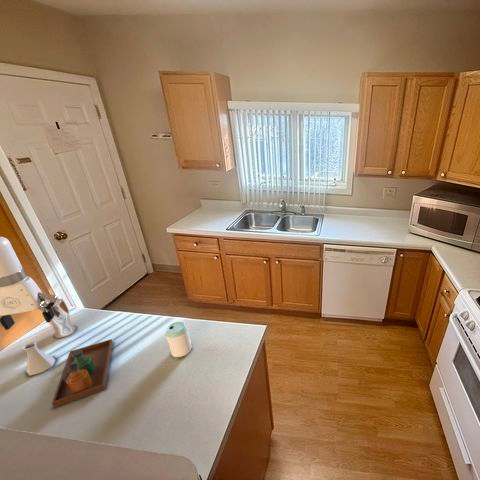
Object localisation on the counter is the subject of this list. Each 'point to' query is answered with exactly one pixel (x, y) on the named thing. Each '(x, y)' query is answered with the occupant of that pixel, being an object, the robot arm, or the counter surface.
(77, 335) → the counter surface
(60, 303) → the beer glass
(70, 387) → the amber bottle
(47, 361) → the flask
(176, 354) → the can
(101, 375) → the tray
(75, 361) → the green bottle
